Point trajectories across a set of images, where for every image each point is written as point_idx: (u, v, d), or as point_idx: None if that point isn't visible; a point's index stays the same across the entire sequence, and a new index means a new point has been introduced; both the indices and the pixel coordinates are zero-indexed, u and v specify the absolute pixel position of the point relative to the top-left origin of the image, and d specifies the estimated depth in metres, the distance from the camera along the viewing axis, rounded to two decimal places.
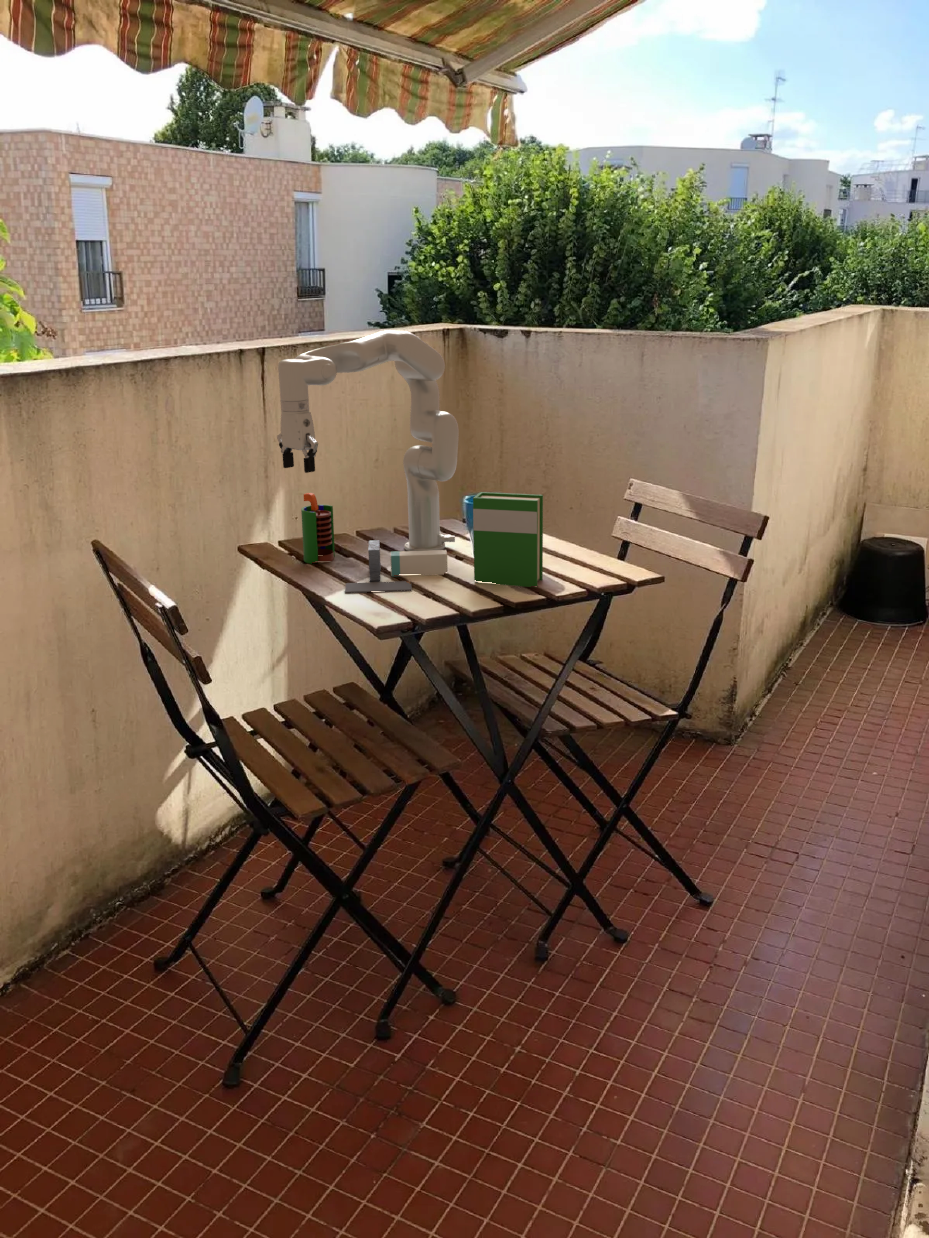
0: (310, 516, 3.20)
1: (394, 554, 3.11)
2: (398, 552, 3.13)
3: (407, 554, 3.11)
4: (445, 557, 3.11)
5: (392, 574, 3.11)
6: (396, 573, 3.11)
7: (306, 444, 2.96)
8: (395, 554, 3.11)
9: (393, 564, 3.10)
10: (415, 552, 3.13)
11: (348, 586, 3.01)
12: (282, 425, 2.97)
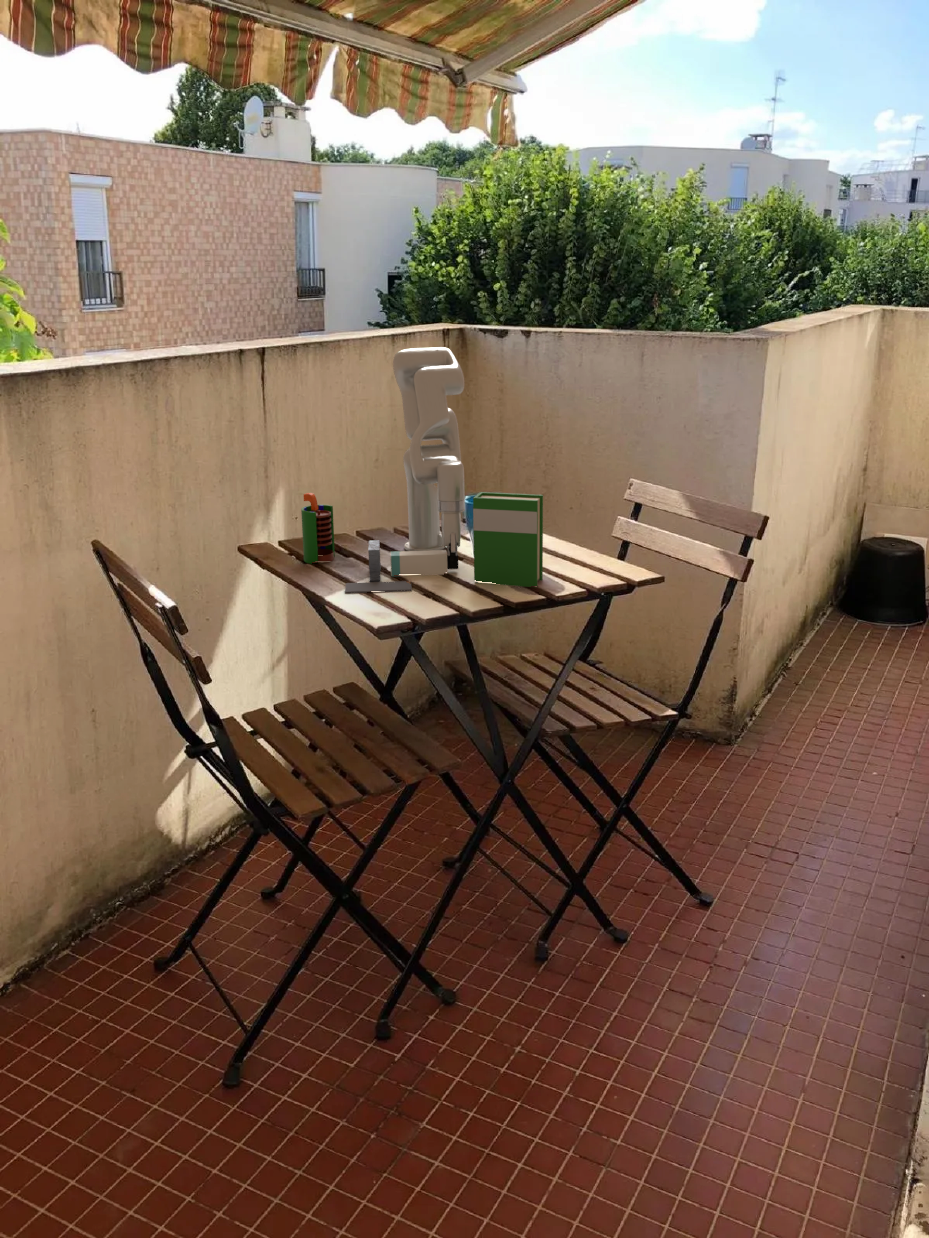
0: (310, 516, 3.20)
1: (394, 554, 3.11)
2: (398, 552, 3.13)
3: (407, 554, 3.11)
4: (445, 557, 3.11)
5: (392, 574, 3.11)
6: (396, 573, 3.11)
7: None
8: (395, 554, 3.11)
9: (393, 564, 3.10)
10: (415, 552, 3.13)
11: (348, 586, 3.01)
12: (460, 525, 3.07)
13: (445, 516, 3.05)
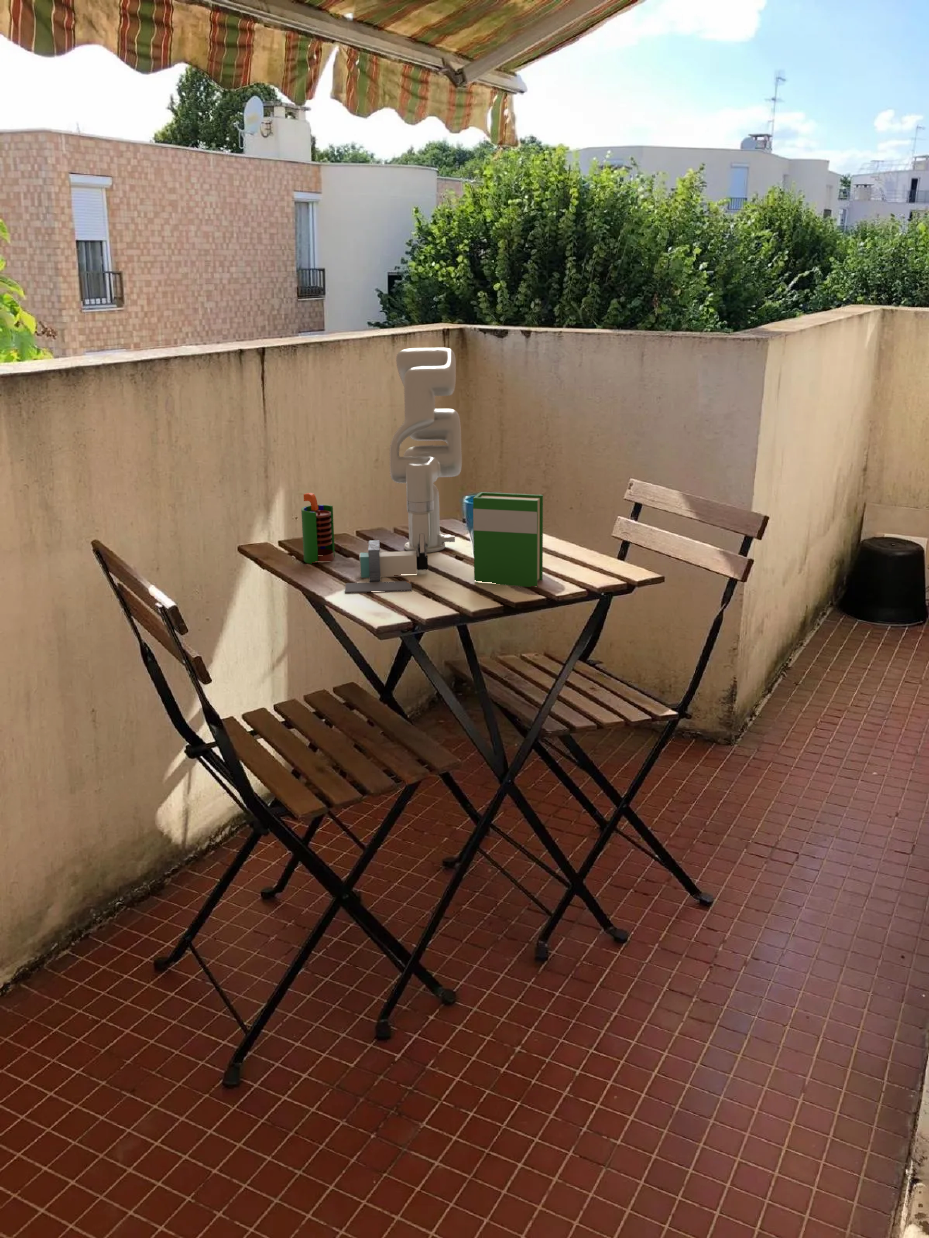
0: (310, 516, 3.20)
1: (364, 555, 3.10)
2: (367, 553, 3.12)
3: None
4: (414, 558, 3.10)
5: (361, 575, 3.10)
6: (365, 574, 3.10)
7: None
8: (364, 555, 3.10)
9: (362, 565, 3.09)
10: (384, 553, 3.12)
11: (348, 586, 3.01)
12: (429, 526, 3.07)
13: (414, 517, 3.04)
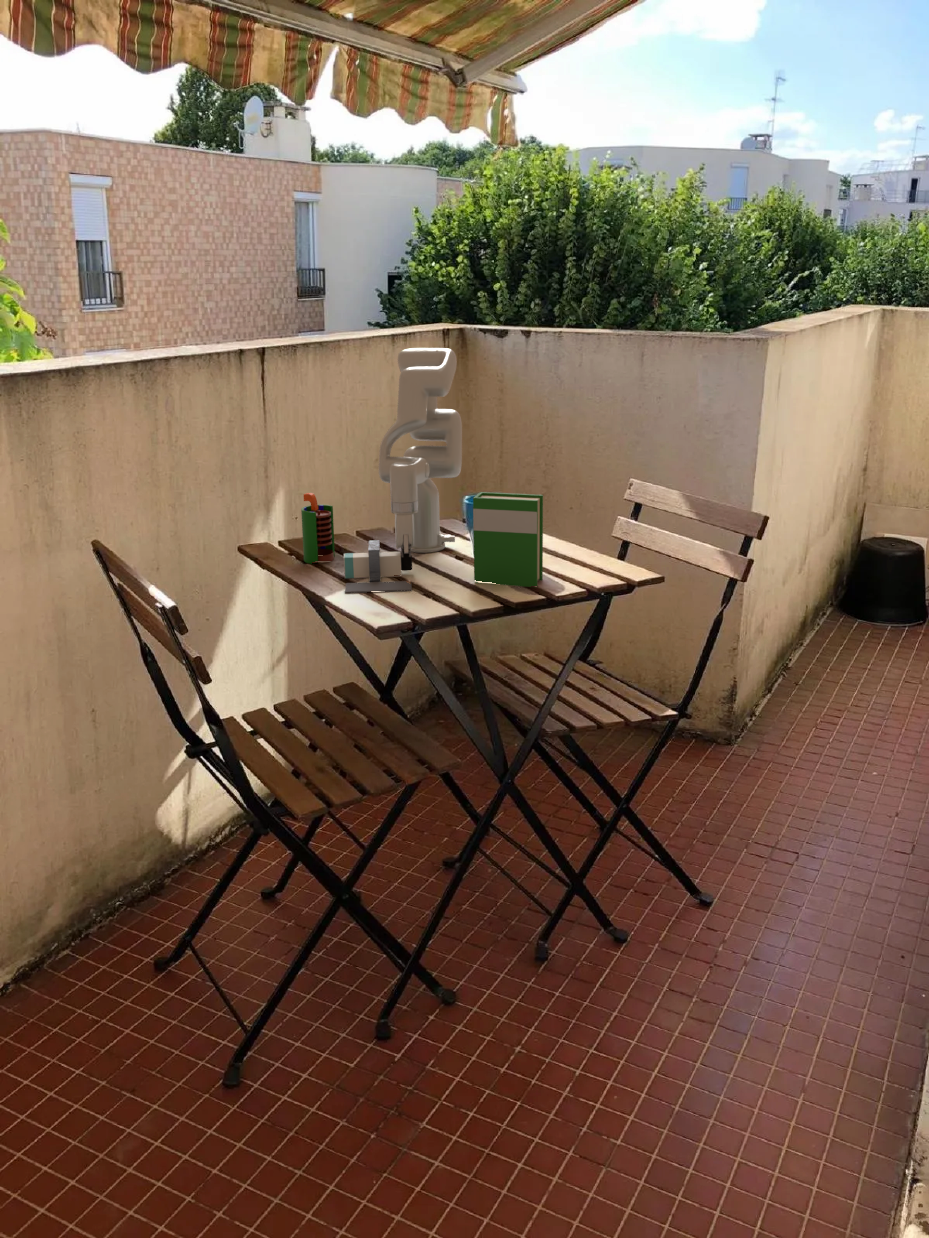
0: (310, 516, 3.20)
1: (348, 556, 3.10)
2: (351, 554, 3.12)
3: (360, 556, 3.10)
4: (399, 559, 3.10)
5: (346, 576, 3.10)
6: (350, 575, 3.10)
7: None
8: (348, 556, 3.10)
9: (346, 565, 3.09)
10: (368, 554, 3.12)
11: (348, 586, 3.01)
12: (413, 526, 3.06)
13: (398, 517, 3.04)
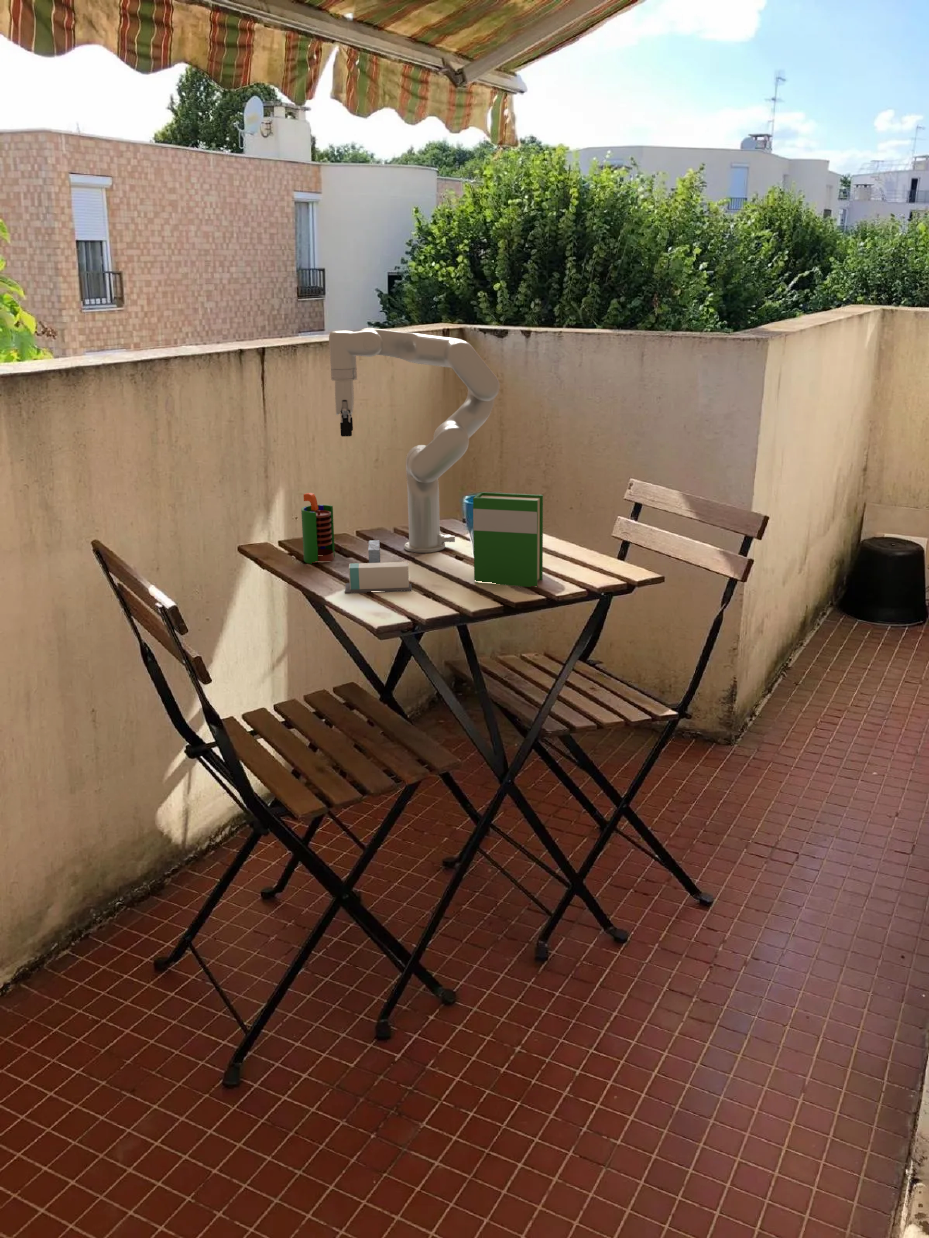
0: (310, 516, 3.20)
1: (353, 566, 2.98)
2: (357, 564, 3.00)
3: (366, 566, 2.98)
4: (406, 569, 2.98)
5: (351, 587, 2.98)
6: (355, 586, 2.98)
7: None
8: (354, 566, 2.98)
9: (351, 576, 2.97)
10: (375, 564, 3.00)
11: (348, 586, 3.01)
12: (352, 393, 3.18)
13: (337, 383, 3.16)
